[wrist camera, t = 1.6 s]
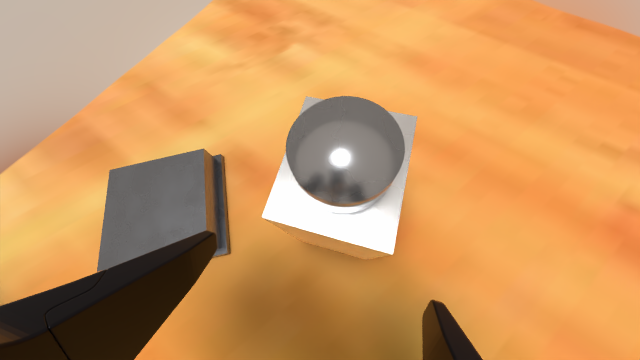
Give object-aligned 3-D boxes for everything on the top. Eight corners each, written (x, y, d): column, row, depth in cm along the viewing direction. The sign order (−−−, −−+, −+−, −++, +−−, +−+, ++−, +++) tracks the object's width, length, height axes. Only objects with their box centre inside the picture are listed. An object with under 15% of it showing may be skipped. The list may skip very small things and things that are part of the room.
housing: (365, 260, 20) (405, 252, 8) (300, 240, 21) (245, 207, 9) (381, 185, 22) (431, 88, 10) (321, 171, 23) (300, 67, 11)
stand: (230, 253, 21) (213, 251, 18) (123, 277, 21) (90, 279, 18) (223, 156, 25) (208, 142, 22) (131, 177, 25) (105, 166, 22)
